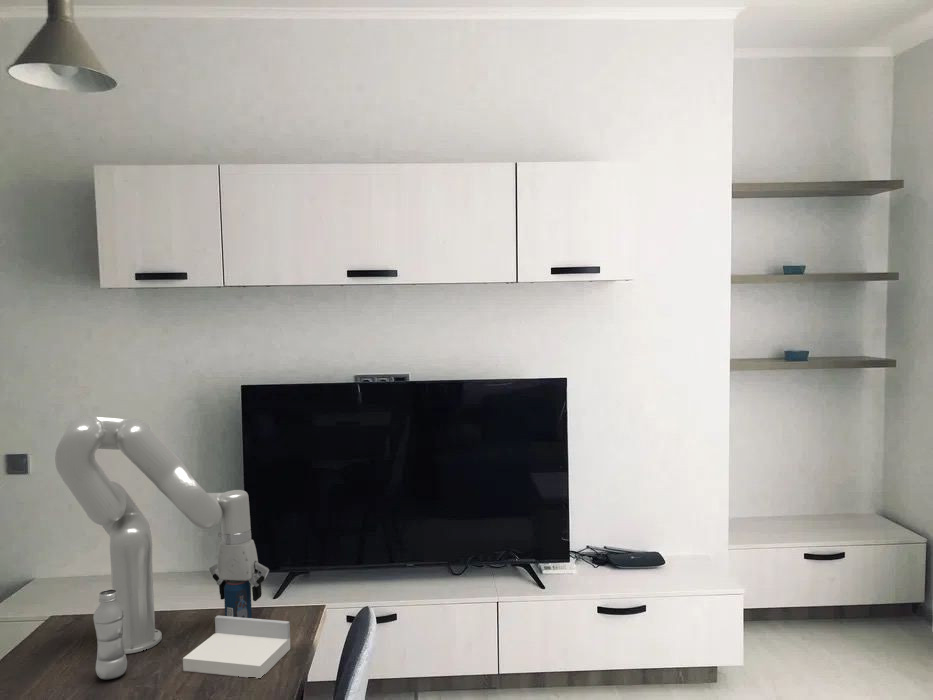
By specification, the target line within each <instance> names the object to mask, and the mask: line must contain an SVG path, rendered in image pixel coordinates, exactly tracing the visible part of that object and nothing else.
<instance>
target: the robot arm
mask: <svg viewBox="0 0 933 700" xmlns="http://www.w3.org/2000/svg"><path fill="white" fill-rule="evenodd" d="M99 449H101V450H120V451H121V453H122V454H123V455H124V456H125V457H126V458H127V459H128V460H130V462H131V463H132V464H133V465H135V467H137V468H138V469H139V471H141V472H142V473H143V474H144V476H146V478H148V480H150V481H151V482H152V484H154V486H156V488H157V489H158V490H159V491H160V492H161V493H162V494H163V495H164V496H165V497H166V498H167V499H169V501H170V502H171V503H172V504H173V505H174V506H175V507H176V508H177V510H179V511H180V512H181V513H182V515H184V517H186V518H187V520H189V521H190V523H192V524H193V525H194V526H195V527H197V528H199V529H200V530H211V529H213V528H215V527H217V526H218V525H219V524H220V526H221V531H218V534H217V536H218V538H221V542H219V545H218V550H217V562H216V564H214V565H211V566H210V567H209V568H208V569H209V572H210V574H211V575H212V578H213V580H215V582H216V585H218V589H219V597H220V600H224V586H225V584H226V580H231V581H249V582H250V584H252V585H253V586H251V595H252V601H253V602H257V601H258V600H259V599H260V598H261V597H262V583H263V582H264V581H265V580H266V579H267V576H268V574H269V572H270V569H269V567H267V566H265V565H263V564H261V563H259V559H258V552H257V548H256V544H255V541H254V539H252V530H251V529H252V528H251V515H250V514H251V513H250V511H251V510H250V501H249V500H250V499H249V494H248V492H247V491H245V490H243V489H234V490H233V489H232V490H228V491H225V492H207V491H206V490H205V489H204V488H202V486H201V485H200V484H199V483H198V482H197V480H195V478H194V477H193V476H192V474H191V473H190V472H189V470H188V468H187V467H186V465H185V464H184V463H183V461H182V460H181V459H180V458H179V457H178V456H177V455H176V454H175V453H174V452H173V451H172V450H171V449H170V448H169V447H168V446H167V445H166V444H165V443H164V442H163V441H162V440H161V439H160V438H159V437H158V436H157V435H156V434H155V433H154V431H153V430H152V429H151V427H150V426H149V424H147V422H145V421H144V420H141V419H139V418H138V419H137V418H128V417H127V418H126V417H125V418H124V417H110V416H109V417H108V416H107V417H106V416H99V415H98V416H97V415H83V416H79V417H77V418H75V419H73V420H72V421H71V422H70V423H69V425H68V426H67V427H66V429H65V431H64V434H63V435H62V437H61V439H60V440H59V442H58V444H57V446H56V449H55V455H54V461H55V462H54V463H55V467H56V471H57V473H58V474H59V476H60V478H61V480H62V481H63V482H64V484H65V485H66V486H67V489H69V491H70V492H71V493H72V495H73V497H74V498H75V500H76V501H77V503H78V504H79V505H80V507H81V508H82V509H83V511H84V512H85V513H86V515H87V517H88V518H89V519H90V520H91V522H93V523H94V524H96V525H99V526H101V528H103V529H104V531H105V532H106V533H107V535H109V555H110V572H111V573H110V574H111V589H114V590H117V596H118V599H117V600H116V601H117V602H118V603H119V604H120V605H121V606H122V607H123V610H124V623H123V645H124V651H125V655H128V654H135V653H139V652H143V650H144V651H146V649H147V650H149V649H151V648H153V647H155V646H156V645H157V644H159V643H160V642H161V640H162V637H163V635H162V632H161V630H159V629H156V624H155V623H156V620H155V599H154V597H155V595H154V594H155V593H154V577H153V576H154V574H153V573H154V571H153V538H152V537H153V536H152V531H151V529H150V528H151V527H150V523H149V520H147V519H148V518H146V517H145V515H144V514H143V512H142V511H141V510H140V508H139V507H138V505H137V504H136V503H135V500H133V499H132V497H131V496H130V494H129V493H128V492H127V491H126V489H125V488H124V487H123V486H122V485H121V484H120V483H118V482H115V481H113V480H111V479H110V478H109V477H108V475H107V474H106V473H105V471H104V470H103V468H102V466H101V465H100V464H99V463H98V461H97V460H96V457H95V456H96V451H97V450H99ZM259 572H260V573H261V574H260V575H259Z"/></svg>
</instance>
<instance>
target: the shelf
mask: <svg viewBox="0 0 933 700" xmlns="http://www.w3.org/2000/svg"><path fill="white" fill-rule="evenodd" d="M214 623H215V624H214V625H215V627H214V628H215V631H214V632H215V633H213V634H211V636H210V637H208V638H207V639H206V640H205V641H203V642H202V643H201V644H199V645H197V646H196V647H195V648H194V649H193V650H191V651H189V652H188V654H186V655H185V656H184V657H183V658H182V671H183V672H192V673H199V674H200V673H201V674H212V675H222V676H229V677H238V676H239V677H240V678H248V677H256V678H255V679H258V678H261V677H262V676H263V675H264V674H265V675H266V674H267V673H268V672H269V671H270V670H271V669H272V668H273V667H274V666H275V665H276V664H277V663H278V662H279V661H280V660H281V659H282V658H283V657H284V656H285V655H286V654H287V653H288V652H289V651H290V650H291V628H290V627H291V626H290V624H291V623H290V621H288V620H287V621H286V620H278V619H277V620H276V619H264V618H253V617H252V618H242V617H230V616H225V615H216V616H214ZM265 675H264V676H265ZM264 676H263V677H264ZM263 677H262V678H263ZM262 678H261V679H262Z"/></svg>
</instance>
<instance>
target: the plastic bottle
mask: <svg viewBox="0 0 933 700" xmlns="http://www.w3.org/2000/svg"><path fill="white" fill-rule="evenodd" d="M98 598H99V599H98V602H99V603H100V604H99V605H98V606H97V607H96V609H95V611H94V613H93V618H92V619H93V624H94V629H95V634H96V640H97V641H96V643H97V650H96V651H97V652H96V661H95V672H96V676H97V677H99V679H101V680H114V679H117V678H119V677H121V676H123V675H124V674H125V672H126V670H127V667H128V660H127V654H125V651H124V645H123V623H124V610H123V607H122V606H121V605H120V604H119V603H118V602H117V601H116V600H117V599H118V596H117V590H114V589H112V588H111V589H105V590H102V591H100V592H99V597H98Z"/></svg>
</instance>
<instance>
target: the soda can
mask: <svg viewBox="0 0 933 700" xmlns="http://www.w3.org/2000/svg"><path fill="white" fill-rule="evenodd" d="M251 584H252V583H251V581H250V580H248V581H231V580H226V584H225V586H224V599H223V601H224V616H230V617H242V618H253V617H252V616H253V615H252V610H253V609H252V585H251Z"/></svg>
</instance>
